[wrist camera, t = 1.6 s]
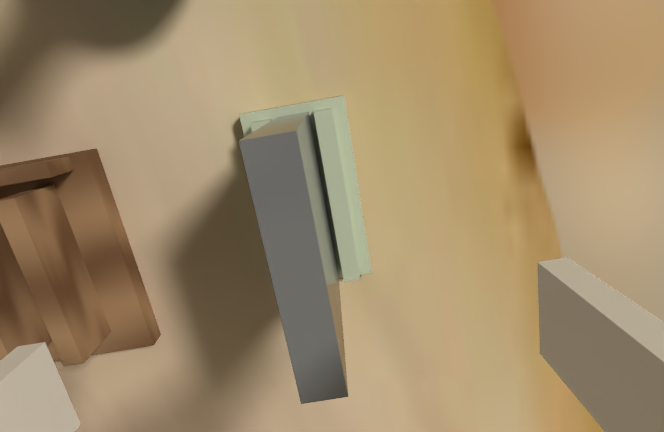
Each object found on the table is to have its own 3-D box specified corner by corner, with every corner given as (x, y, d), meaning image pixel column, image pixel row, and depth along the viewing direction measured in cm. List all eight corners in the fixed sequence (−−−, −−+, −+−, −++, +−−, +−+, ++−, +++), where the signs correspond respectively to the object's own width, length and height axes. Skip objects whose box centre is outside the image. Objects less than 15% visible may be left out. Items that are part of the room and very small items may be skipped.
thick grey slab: (277, 117, 23) (238, 140, 12) (309, 111, 23) (296, 130, 12) (310, 276, 26) (301, 403, 15) (338, 271, 26) (348, 396, 15)
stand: (242, 113, 24) (232, 116, 21) (343, 95, 24) (345, 96, 21) (281, 281, 27) (276, 300, 25) (370, 266, 27) (374, 284, 24)
